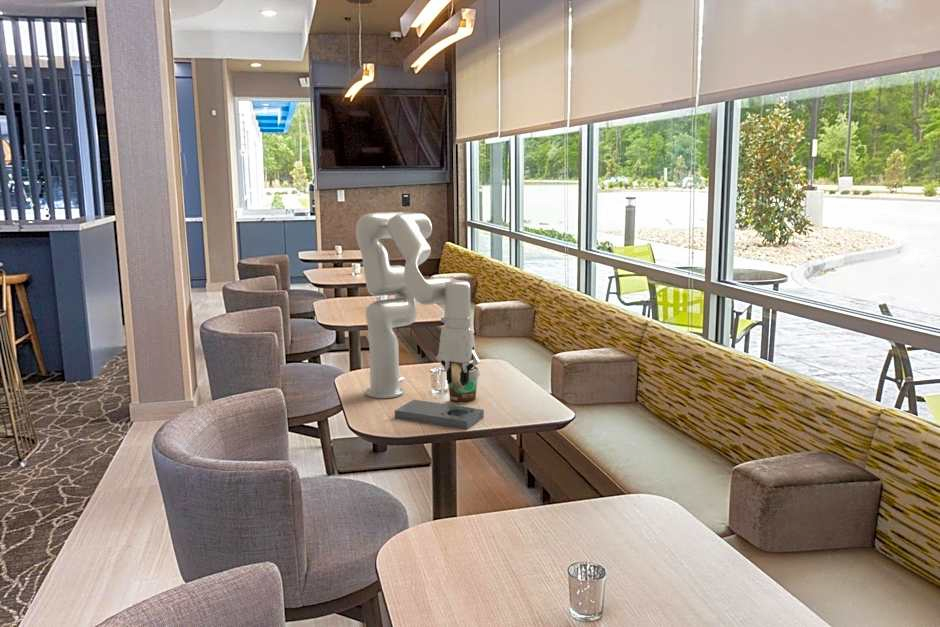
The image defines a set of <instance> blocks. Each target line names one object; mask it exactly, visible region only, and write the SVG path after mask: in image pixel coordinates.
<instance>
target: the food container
mask: <svg viewBox="0 0 940 627" xmlns="http://www.w3.org/2000/svg"><path fill="white" fill-rule="evenodd" d="M480 376H481V374H480V370H479V368H478V367H477V365H475V366H474V367H473V368H472V369H471V370H470V371H469V382H468V384H466V385H464V388H462V389H453V388H451V383H450V384H448V393H449V394H448V395H449V402H452V403H459V402H464V403H471V402H474V401H475V400H476V397H477V388H478V386H477V385H478V378H479V377H480ZM470 401H471V402H470Z"/></svg>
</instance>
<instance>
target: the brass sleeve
mask: <svg viewBox="0 0 940 627" xmlns="http://www.w3.org/2000/svg"><path fill="white" fill-rule="evenodd" d="M462 372H463V367H462V363H457V362H451V388H453V389H462V388H464V386H462Z"/></svg>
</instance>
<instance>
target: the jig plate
mask: <svg viewBox="0 0 940 627" xmlns="http://www.w3.org/2000/svg"><path fill="white" fill-rule="evenodd" d="M484 411H485V410H484V409H481V408H474V407H467V406H461V405H452V404H447V403H440V402H434V401H433V402H432V401H427V400H420V399H419V400H418V399H412V400H411V401H409V402H407V403H405V404H404V405H403V404H402V406H399V407H398V408H396V409H395V410H394V419H398V420H403V421H404V420H405V421H410V422H416V421H418V423H422V422H424V423H423V424H429V423H431V424H430V425H435V424H436V425H435V426H443V427H450V428H455V429H461V430H462V429H463V430H468V429H470V428H471V427H473V426H475V425H476V424H477V423H478V422H480V421H481V420H483V419H484V418H483V417H485V416H484V413H485V412H484ZM479 420H480V421H479Z"/></svg>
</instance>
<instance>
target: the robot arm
mask: <svg viewBox="0 0 940 627" xmlns="http://www.w3.org/2000/svg"><path fill="white" fill-rule="evenodd" d="M432 232H433V225H432V221H431V220H430V218H429V217H428V216H427V215H426V214H424V213H421V212H411V211H410V212H408V211H391V212H390V211H387V212H386V211H385V212H384V211H382V212H380V211H379V212H371V213H366V214H363V215H362V216H361V217H359V218H358V220H357V223H356V225H355V238H356V242H357V245H358V248H359V251H360V254H361V258H362V265H363V274H364V279H365V286H366V290H367V292H368V293H369V294H370V295H371V296H374V297H382V296H391V295H394V297H395V298H386V299H379V300H376V301H373V302H371V303H370V304H369V305H368V306H367V307H366V310H365V319H366V324H367V329H368V338H369V339H368V340H369V341H368V343H369V346H368V347H369V381H370V382H369V383H370V385H369V387H368V388H366V389H365V395H366V396H368V397H369V398H374V399H392V398H396V397H400V396H402V395H404V392H405V390H404V388H403V387H402V386H400V384H401V383H402V382H404V381H405V377H404V376H402V375H400V370H399V368H400V367H399V366H400V364H399V362H400V361H399V360H400V359H399V353H400V352H399V351H400V350H399V339H398V337H397V336H396V334H395V332H394V330H393V329H394V328H398V327H406V326H409V325H410V326H411V325H412V324H413V323H414V322H415V321H416V318H417V316H418V315H417V314H418V312H417V310H418V309H417V302H418V303H419V304H420V305H422V306H423V305H424V306H427V305H434V304H443V303H444V317H441V318H440V323H443V325H444V326H442V327H441V331H440V337H439V347H438V353H437V355H436V356H435V360H436V361H437V362H439V363H440V364H441V365H442V367H443V368H444V370H445V371H446V372H445V374H446V376H445V377H446V378H445V379H446V381H447V384H448V385H449V384H450V383H451V362H457V363H462V367H463V372H462V386H464V385H466V384H468V382H469V371H470V370H471V369H474V366H477V365H479V364H480V363H481V361H480V359H479V357H478V354H476V342H475V341H476V340H475V335H474V329H473V327H472V326H471V285H470V282H469V281H466V280H462V279H461V280H460V279H456V278H454V277H451V276H444V277H443V276H442V277H434V278H426V279H425V278H424V276H423V275H422V273H421V272H420V270H419V266H420V265H422V264H423V263H424V262H426V261H427V259H429V257H430V256H431V253H432V250H431V249H432V248H431V246H430V244H429V243H428V241H427V240H426V239H428V238H429V237H431V235H432ZM382 239H384V240H385V239H392V240H393V242H394V243H395V245H396V247H397V248H398V250H399V251H400V253H401V255H402V257H403V259H404V260H405V264H404V266H403V265H399V264H398V265H391V264H390V259H389V253H388V251H387V249H386V247H385V246H384V244H383V243H382V242H381V241H380V240H382ZM471 361H472V362H471Z"/></svg>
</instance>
